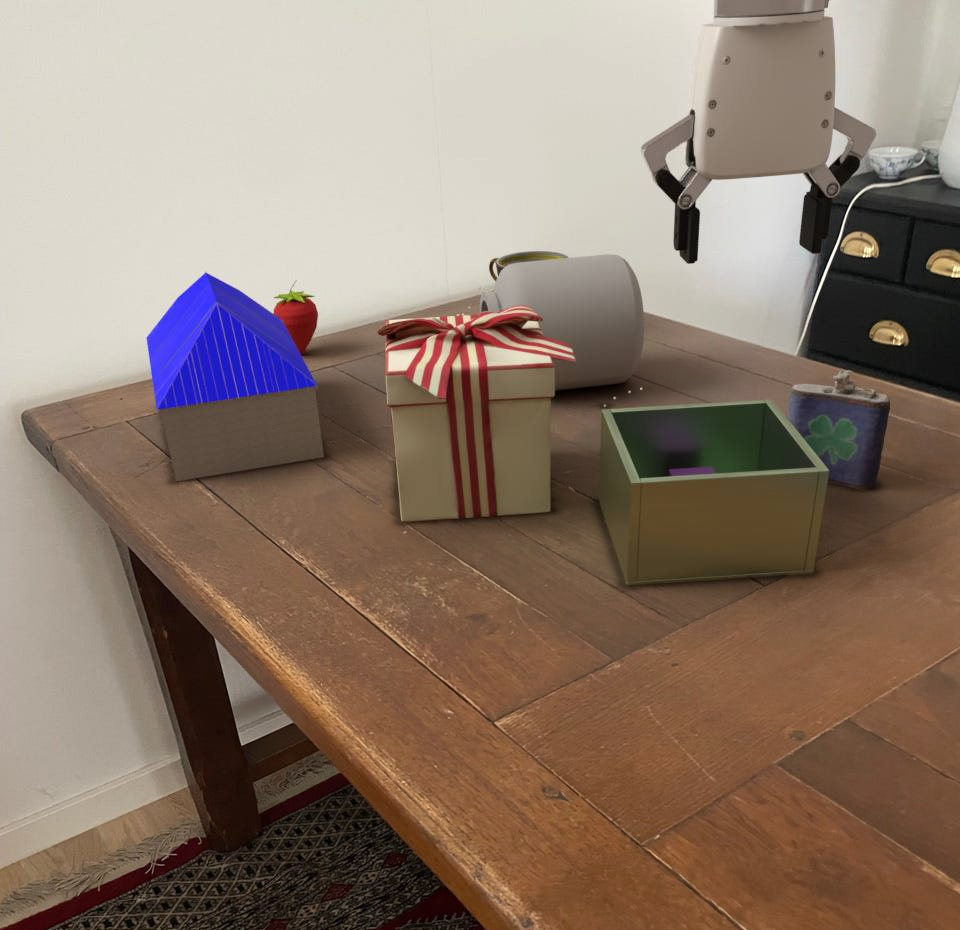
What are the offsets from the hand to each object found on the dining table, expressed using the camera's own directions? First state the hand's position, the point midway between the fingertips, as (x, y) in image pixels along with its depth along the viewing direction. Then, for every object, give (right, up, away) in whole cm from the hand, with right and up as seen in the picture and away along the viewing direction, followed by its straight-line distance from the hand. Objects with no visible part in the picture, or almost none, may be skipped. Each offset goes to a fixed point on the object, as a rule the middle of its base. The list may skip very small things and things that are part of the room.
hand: (748, 254), depth 80 cm
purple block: (-2, -21, +11) cm, 23 cm away
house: (-49, -6, +38) cm, 62 cm away
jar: (-14, -1, +43) cm, 45 cm away
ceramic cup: (-15, +13, +63) cm, 66 cm away
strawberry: (-45, +8, +59) cm, 75 cm away
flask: (+13, -15, +20) cm, 28 cm away
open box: (-2, -21, +11) cm, 24 cm away
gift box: (-21, -16, +21) cm, 34 cm away
